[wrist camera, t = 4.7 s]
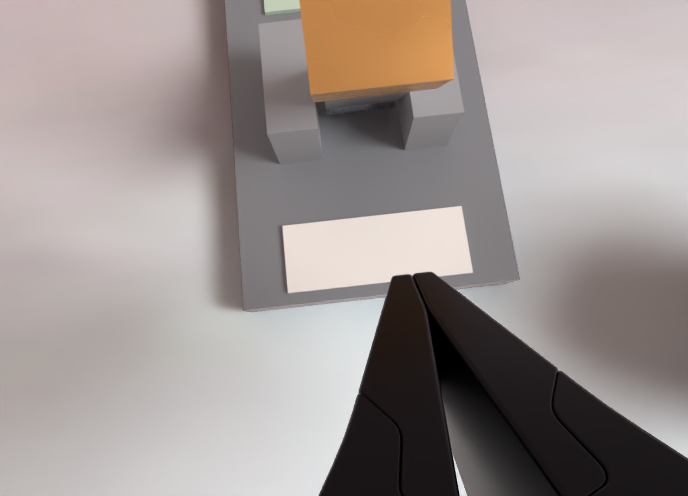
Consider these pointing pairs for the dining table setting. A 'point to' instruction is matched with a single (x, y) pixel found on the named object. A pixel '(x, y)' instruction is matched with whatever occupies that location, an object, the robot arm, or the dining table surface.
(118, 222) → the dining table surface
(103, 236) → the dining table surface
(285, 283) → the switch panel
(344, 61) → the lever
